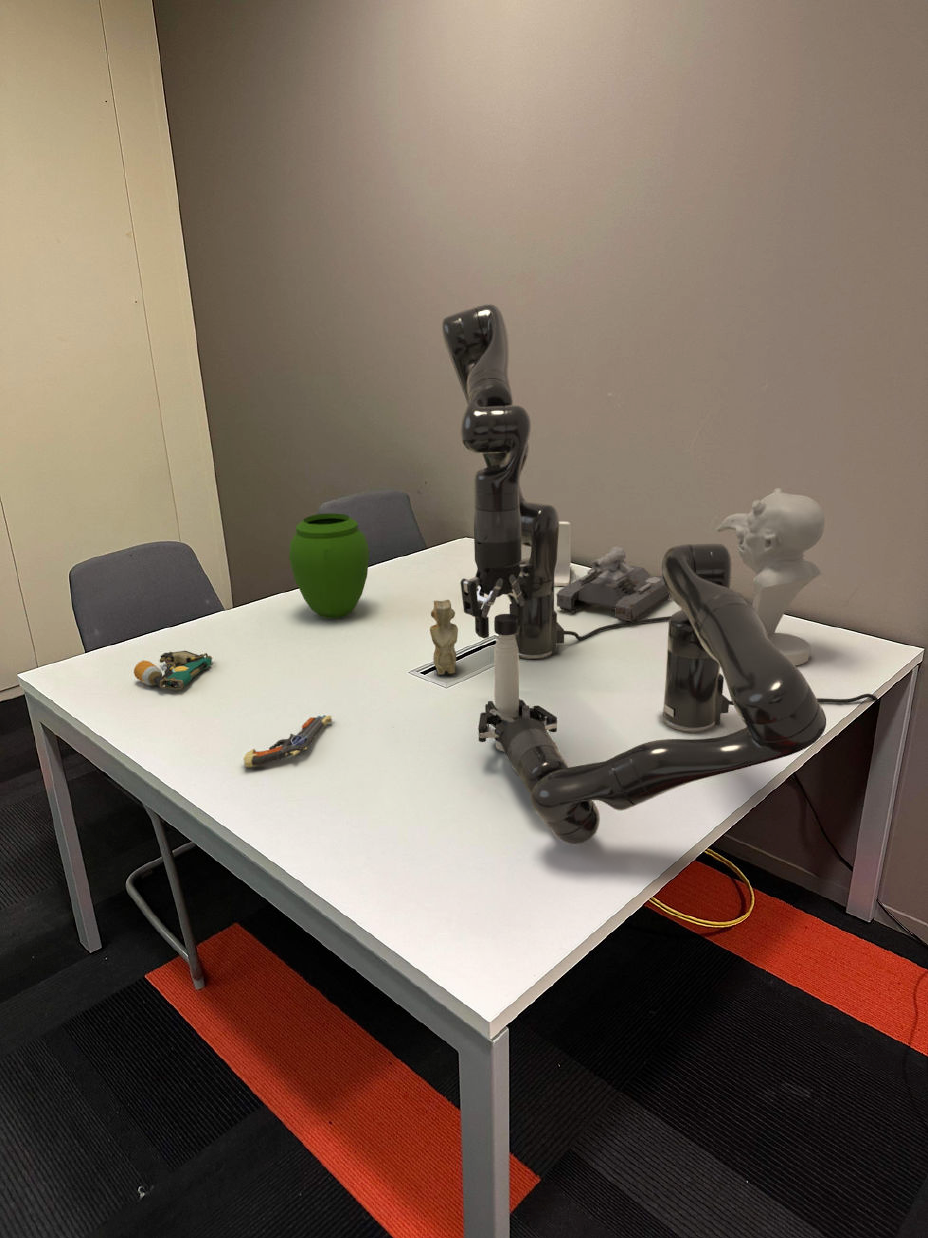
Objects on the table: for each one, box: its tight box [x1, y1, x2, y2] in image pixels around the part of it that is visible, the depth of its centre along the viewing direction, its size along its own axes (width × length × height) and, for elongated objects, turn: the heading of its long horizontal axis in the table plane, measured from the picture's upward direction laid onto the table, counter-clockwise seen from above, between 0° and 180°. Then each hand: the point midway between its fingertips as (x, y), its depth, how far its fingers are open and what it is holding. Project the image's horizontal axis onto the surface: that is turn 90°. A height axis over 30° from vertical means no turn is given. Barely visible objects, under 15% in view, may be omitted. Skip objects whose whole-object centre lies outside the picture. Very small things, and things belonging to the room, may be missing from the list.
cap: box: [493, 613, 518, 635], centre depth 141 cm, size 4×4×2 cm
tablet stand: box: [521, 521, 572, 587], centre depth 236 cm, size 18×25×17 cm
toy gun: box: [243, 714, 333, 769], centre depth 151 cm, size 3×19×10 cm
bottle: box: [493, 634, 520, 752], centre depth 145 cm, size 4×4×24 cm
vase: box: [288, 512, 370, 620], centre depth 209 cm, size 20×20×24 cm
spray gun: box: [133, 650, 213, 690], centre depth 180 cm, size 4×17×15 cm
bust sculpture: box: [715, 487, 826, 667], centre depth 180 cm, size 16×24×35 cm
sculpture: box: [429, 599, 459, 675], centre depth 177 cm, size 6×7×15 cm
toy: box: [556, 546, 671, 623], centre depth 212 cm, size 25×20×15 cm
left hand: (499, 631), depth 142 cm, fingers open, 6 cm apart
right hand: (503, 704), depth 149 cm, fingers closed on bottle, 4 cm apart
